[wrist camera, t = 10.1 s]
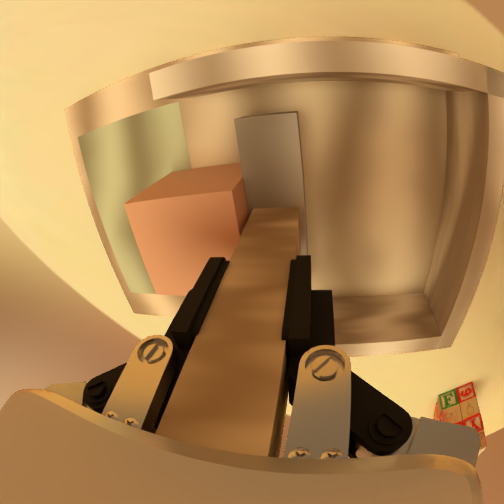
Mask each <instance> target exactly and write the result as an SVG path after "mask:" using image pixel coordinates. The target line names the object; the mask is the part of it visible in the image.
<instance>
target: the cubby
mask: <svg viewBox="0 0 504 504" xmlns="http://www.w3.org/2000/svg"><path fill="white" fill-rule="evenodd" d="M290 111H298V119H299V128H300V138H301V149H302V160H303V172H304V186H305V202H306V220H307V244H308V255H311V287H312V290H332V297H333V311H334V329H335V347H338V348H340V349H342V350H343V351H344V352H345V353H346V354H347V355H348V357H360V356H376V355H389V354H400V353H410V352H418V351H426V350H434V349H441V348H447V347H451V345H452V343H453V341H454V339H455V337H456V335H457V333H458V331H459V329H460V327H461V325H462V323H463V320H464V318H465V316H466V314H467V311H468V309H469V307H470V304H471V302H472V299H473V297H474V294H475V292H476V289H477V286H478V284H479V281H480V278H481V275H482V272H483V269H484V266H485V263H486V260H487V257H488V253H489V250H490V246H491V243H492V239H493V235H494V231H495V227H496V222H497V217H498V213H499V207H500V202H501V196H502V190H503V182H504V73H503V72H500V71H498V70H495V69H492V68H490V67H487V66H484V65H481V64H478V63H475V62H472V61H469V60H466V59H462V58H459V57H458V54H457V53H454V52H450V51H446V50H442V49H438V48H433V47H429V46H424V45H419V44H413V43H407V42H400V41H393V40H384V39H374V38H360V37H302V38H288V39H278V40H269V41H261V42H254V43H248V44H242V45H236V46H231V47H226V48H221V49H217V50H212V51H208V52H204V53H200V54H196V55H193V56H189V57H186V58H182V59H179V60H176V61H172V62H169V63H166V64H163V65H160V66H157V67H154V68H152V69H149V70H146V71H144V72H141V73H138V74H136V75H133V76H131V77H128V78H126V79H124V80H121V81H119V82H117V83H115V84H112V85H110V86H108V87H106V88H104V89H102V90H100V91H98V92H96V93H94V94H92V95H90V96H88V97H86V98H84V99H82V100H80V101H78V102H77V103H75V104H73V105H71V106H70V107H68V108H66V109H65V113H66V119H67V124H68V129H69V134H70V138H71V143H72V147H73V151H74V155H75V159H76V163H77V167H78V171H79V174H80V178H81V181H82V185H83V188H84V191H85V195H86V198H87V201H88V204H89V207H90V210H91V213H92V216H93V219H94V221H95V224H96V227H97V230H98V232H99V235H100V238H101V240H102V243H103V245H104V248H105V250H106V253H107V255H108V258H109V260H110V262H111V265H112V267H113V269H114V272H115V274H116V276H117V278H118V281H119V283H120V285H121V287H122V289H123V291H124V293H125V296H126V298H127V300H128V302H129V304H130V306H131V308H132V310H133V312H134V313H137V314H146V315H155V316H165V317H175V315H176V313H177V312H178V310H179V308H180V306H181V304H182V302H183V301H184V299H185V297H186V296H179V295H160V294H156V292H155V290H154V287H153V285H152V282H151V280H150V277H149V275H148V272H147V270H146V267H145V265H144V262H143V259H142V257H141V254H140V251H139V248H138V245H137V243H136V240H135V237H134V234H133V231H132V228H131V225H130V222H129V219H128V216H127V213H126V210H125V206H124V204H125V203H126V202H127V201H129V200H130V199H132V198H133V197H135V196H136V195H137V194H139V193H140V192H142V191H143V190H145V189H146V188H148V187H149V186H151V185H152V184H154V183H155V182H157V181H158V180H160V179H162V178H163V177H165V176H166V175H168V174H169V173H171V172H175V171H181V170H188V169H194V168H201V167H208V166H216V165H224V164H232V163H240V156H239V150H238V143H237V137H236V130H235V124H234V119H236V118H240V117H244V116H249V115H257V114H266V113H277V112H290Z"/></svg>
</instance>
